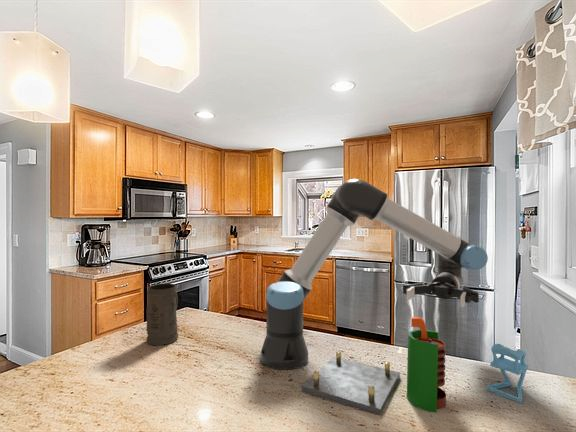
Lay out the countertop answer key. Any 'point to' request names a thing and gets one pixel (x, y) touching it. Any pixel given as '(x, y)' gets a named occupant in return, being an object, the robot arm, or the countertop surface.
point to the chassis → (353, 384)
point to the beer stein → (162, 314)
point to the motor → (425, 368)
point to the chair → (508, 366)
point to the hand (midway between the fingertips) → (433, 298)
